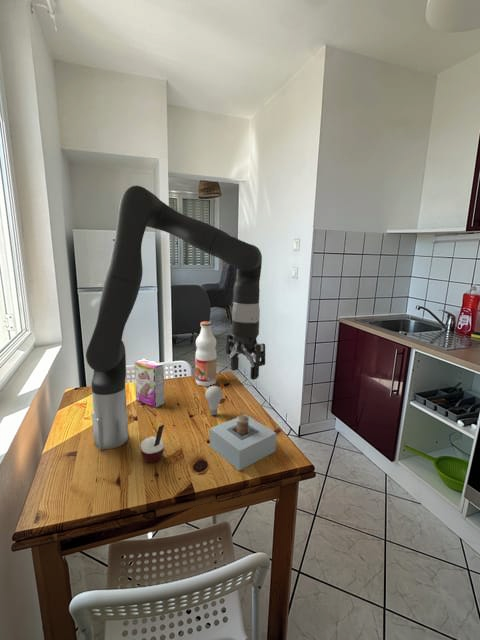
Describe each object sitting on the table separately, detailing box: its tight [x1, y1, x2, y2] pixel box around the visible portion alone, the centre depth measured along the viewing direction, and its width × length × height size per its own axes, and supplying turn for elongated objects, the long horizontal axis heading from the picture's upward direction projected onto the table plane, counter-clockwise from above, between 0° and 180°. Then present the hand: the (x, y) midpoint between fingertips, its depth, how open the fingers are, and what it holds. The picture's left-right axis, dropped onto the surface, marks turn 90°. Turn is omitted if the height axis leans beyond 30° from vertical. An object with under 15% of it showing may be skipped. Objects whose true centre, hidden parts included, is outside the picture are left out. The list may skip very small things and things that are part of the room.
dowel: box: [236, 414, 249, 436], centre depth 94 cm, size 3×3×10 cm
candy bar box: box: [134, 358, 165, 409], centre depth 121 cm, size 11×5×16 cm, turn 58°
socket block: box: [209, 413, 277, 471], centre depth 94 cm, size 14×14×6 cm
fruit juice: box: [194, 320, 218, 387], centre depth 140 cm, size 9×9×28 cm
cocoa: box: [139, 424, 165, 463], centre depth 88 cm, size 10×6×12 cm, turn 26°
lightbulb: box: [204, 385, 223, 416], centre depth 113 cm, size 6×6×11 cm
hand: (244, 374), depth 90 cm, fingers open, 8 cm apart
